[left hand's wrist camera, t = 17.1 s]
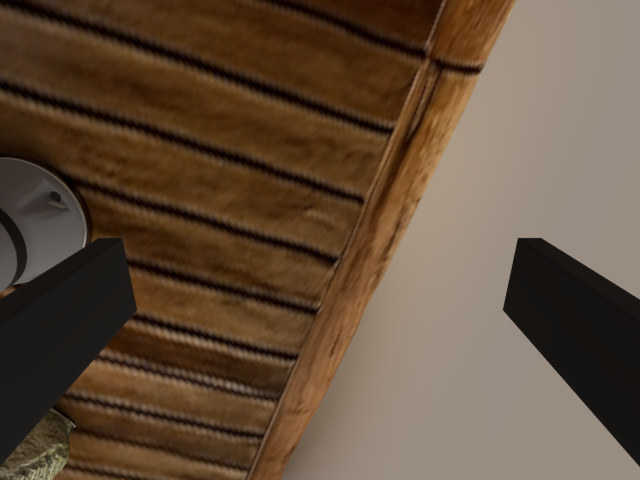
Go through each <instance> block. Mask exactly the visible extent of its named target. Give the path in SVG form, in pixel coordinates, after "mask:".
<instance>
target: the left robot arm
mask: <svg viewBox="0 0 640 480" xmlns="http://www.w3.org/2000/svg"><path fill="white" fill-rule="evenodd" d="M91 238H92V223H91V218H90V214H89V211H88V209H87V206H86V204H85V202H84V200H83V198H82V197H81V195H80V194H79V192H78V191H77V190H76V188H75V187H74V186H73V185H72V184H71V183H70V182H69V181H68V180H67V179H66V178H65V177H64V176H62V175H61V174H60V173H58V172H57V171H56V170H54V169H52V168H51V167H49V166H47V165H45V164H43V163H41V162H38V161H36V160H33V159H29V158H25V157H18V156H5V157H0V292H1V291H3V290H4V289H6V288H8V287H9V286H11V285H13V284H18V283H23V282H28V281H29V282H28V283H26V284H24V285H23V286H21V287H20V288H18V289H16V290H15V291H13V292H12V293H10V294H8V295H7V296H5V297H4V298H2V299H0V466H1V465H2V464H3V463H4V462H5V461H6V460H7V458H8V457H9V456H10V455H11V454H12V453H13V452H14V450H15V449H16V448H17V447H18V446H19V445H20V444H21V442H22V441H23V440H24V439H25V438H26V437H27V436H28V434H29V433H30V432H31V431H32V430H33V429H34V428H35V426H36V425H37V424H38V423H39V422H40V421H41V419H42V418H43V417H44V416H45V415H46V414H47V413H48V411H49V410H50V409H51V408H52V407H53V406H54V405H55V403H56V402H57V401H58V400H59V399H60V398H61V397H62V395H63V394H64V393H65V392H66V391H67V390H68V389H69V387H70V386H71V385H72V384H73V383H74V382H75V381H76V379H77V378H78V377H79V376H80V375H81V374H82V373H83V371H84V370H85V369H86V368H87V367H88V366H89V364H90V363H91V362H92V361H93V360H94V359H95V358H96V356H97V355H98V354H99V353H100V352H101V351H102V350H103V348H104V347H105V346H106V345H107V344H108V343H109V342H110V340H111V339H112V338H113V337H114V336H115V335H116V334H117V332H118V331H119V330H120V329H121V328H122V327H123V326H124V324H125V323H126V322H127V321H128V320H129V319H130V318H131V316H132V315H133V314H134V313H135V312H136V311H137V307H136V302H135V298H134V293H133V288H132V283H131V279H130V274H129V269H128V264H127V260H126V255H125V250H124V245H123V241H122V238H98V239H97V240H95V241H93V242H92V243H90V242H91ZM503 311H504V312H505V313H506V314H507V315H508V316H509V318H510V319H511V320H512V321H513V322H514V323H515V324H516V326H517V327H518V328H519V329H520V330H521V331H522V332H523V334H524V335H525V336H526V337H527V338H528V339H529V340H530V342H531V343H532V344H533V345H534V346H535V347H536V348H537V350H538V351H539V352H540V353H541V354H542V355H543V356H544V358H545V359H546V360H547V361H548V362H549V363H550V364H551V366H552V367H553V368H554V369H555V370H556V371H557V373H558V374H559V375H560V376H561V377H562V378H563V379H564V381H565V382H566V383H567V384H568V385H569V386H570V387H571V389H572V390H573V391H574V392H575V393H576V394H577V395H578V397H579V398H580V399H581V400H582V401H583V402H584V403H585V405H586V406H587V407H588V408H589V409H590V410H591V411H592V413H593V414H594V415H595V416H596V417H597V418H598V419H599V421H600V422H601V423H602V424H603V425H604V426H605V427H606V429H607V430H608V431H609V432H610V433H611V434H612V435H613V437H614V438H615V439H616V440H617V441H618V442H619V444H620V445H621V446H622V447H623V448H624V449H625V450H626V452H627V453H628V454H629V455H630V456H631V457H632V458H633V460H634V461H635V462H636V463H637V464H638V465H639V466H640V299H638V298H636V297H635V296H633V295H632V294H630V293H628V292H627V291H625V290H624V289H622V288H620V287H619V286H617V285H616V284H614V283H612V282H611V281H609V280H608V279H606V278H604V277H603V276H601V275H599V274H598V273H596V272H595V271H593V270H592V269H590V268H588V267H587V266H585V265H583V264H582V263H580V262H579V261H577V260H575V259H574V258H572V257H571V256H569V255H567V254H566V253H564V252H563V251H561V250H559V249H558V248H556V247H555V246H553V245H551V244H550V243H548V242H547V241H545V240H543V239H542V238H518V241H517V246H516V250H515V255H514V260H513V265H512V269H511V274H510V279H509V284H508V288H507V293H506V298H505V302H504V307H503Z"/></svg>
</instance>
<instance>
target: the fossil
mask: <svg viewBox="0 0 640 480" xmlns="http://www.w3.org/2000/svg"><path fill="white" fill-rule="evenodd" d="M74 427H75V425H74V424H73V423H72V422H71V421H70V420H69V419H67V418H66V417H64V416H63V415H62V414H60V413H59V412H57V411H56V410H54V409H53V408H51V409H50V410H49V411H48V413H47V414H46V415H45V416H44V417H43V418H42V419H41V421H40V422H39V423H38V424H37V425H36V426H35V428H34V429H33V430H32V431H31V432H30V433H29V434H28V436H27V437H26V438H25V439H24V440H23V441H22V442H21V444H20V445H19V446H18V447H17V448H16V449H15V450H14V452H13V453H12V454H11V455H10V456H9V457H8V458H7V460H6V461H5V462H4V463H3V464H2V465H1V466H0V480H52V479H53V478H54V477H55V475H56V474H57V473H58V472H59V471H60V470H61V469H62V468H63V467H64V465H65V464H66V462H67V461H68V459H69V453H70V451H69V445H70V442H69V439H68V436H69V435H70V433H71V430H72V429H73V428H74Z"/></svg>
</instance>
